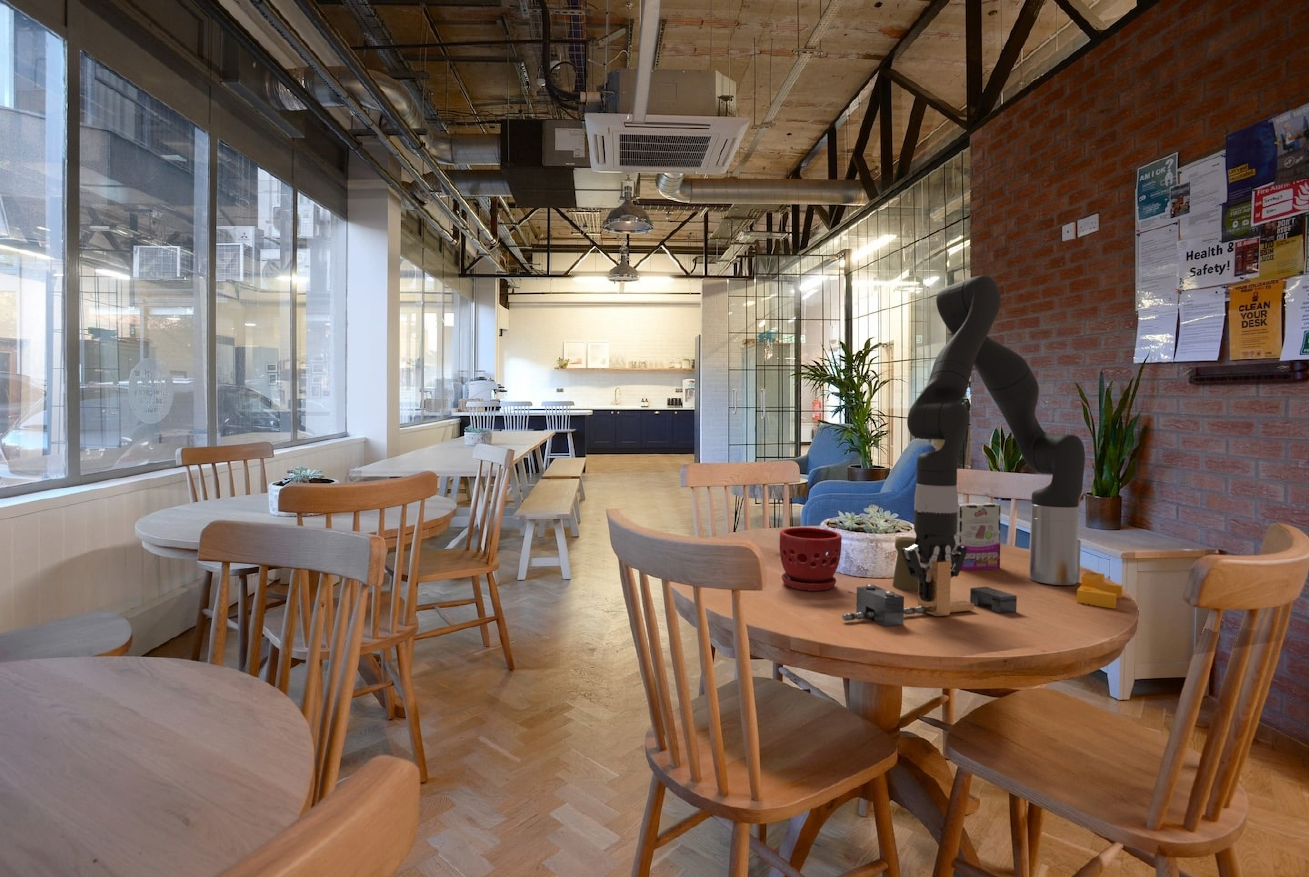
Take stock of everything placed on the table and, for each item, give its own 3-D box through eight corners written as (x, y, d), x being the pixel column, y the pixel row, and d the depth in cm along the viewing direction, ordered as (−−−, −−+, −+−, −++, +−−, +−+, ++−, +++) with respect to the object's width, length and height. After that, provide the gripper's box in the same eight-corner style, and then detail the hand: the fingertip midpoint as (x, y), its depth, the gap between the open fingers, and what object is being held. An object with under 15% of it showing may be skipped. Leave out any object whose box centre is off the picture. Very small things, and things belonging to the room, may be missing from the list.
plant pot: (766, 585, 149) (767, 530, 149) (802, 576, 158) (803, 525, 157) (817, 597, 139) (818, 539, 139) (852, 587, 148) (853, 532, 148)
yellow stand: (1086, 571, 147) (1122, 576, 143) (1085, 591, 147) (1122, 597, 143) (1077, 581, 138) (1115, 586, 133) (1076, 602, 138) (1115, 608, 134)
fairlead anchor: (874, 611, 129) (874, 582, 129) (903, 624, 121) (904, 593, 121) (856, 613, 128) (856, 583, 128) (884, 626, 120) (885, 594, 120)
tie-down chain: (959, 604, 134) (960, 554, 133) (979, 611, 129) (980, 559, 129) (834, 617, 124) (835, 562, 124) (851, 624, 120) (852, 568, 119)
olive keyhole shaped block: (917, 584, 151) (918, 535, 151) (925, 591, 145) (926, 540, 145) (889, 584, 152) (890, 534, 151) (896, 590, 146) (897, 539, 145)
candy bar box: (986, 567, 171) (988, 502, 170) (1000, 571, 166) (1002, 504, 165) (946, 568, 168) (948, 502, 168) (959, 573, 163) (961, 505, 163)
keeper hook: (985, 601, 137) (986, 586, 137) (1016, 611, 130) (1016, 595, 130) (970, 603, 136) (970, 588, 136) (1000, 613, 129) (1000, 597, 129)
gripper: (951, 505, 134) (948, 592, 134) (891, 507, 129) (889, 597, 130) (980, 510, 127) (978, 602, 127) (919, 512, 122) (916, 608, 123)
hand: (933, 599), depth 128 cm, fingers closed on tie-down chain, 3 cm apart
